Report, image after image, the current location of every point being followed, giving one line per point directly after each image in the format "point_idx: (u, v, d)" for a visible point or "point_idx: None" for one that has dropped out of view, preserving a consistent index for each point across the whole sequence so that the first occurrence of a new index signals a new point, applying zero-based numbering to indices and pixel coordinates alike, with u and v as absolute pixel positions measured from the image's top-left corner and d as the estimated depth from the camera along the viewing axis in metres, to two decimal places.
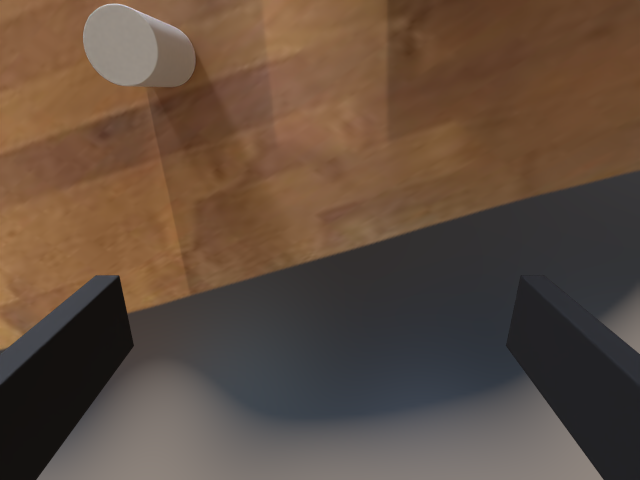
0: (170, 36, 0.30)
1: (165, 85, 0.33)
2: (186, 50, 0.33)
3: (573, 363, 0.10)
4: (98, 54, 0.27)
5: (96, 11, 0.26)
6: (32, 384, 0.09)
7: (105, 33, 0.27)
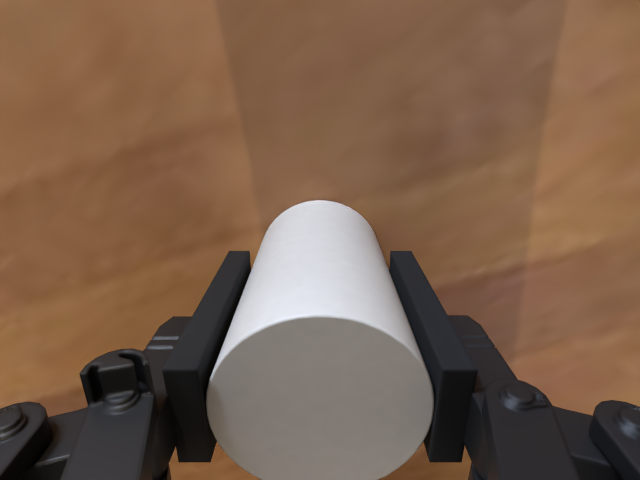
0: (398, 297, 0.12)
1: None
2: None
3: None
4: (248, 431, 0.09)
5: (258, 335, 0.08)
6: (224, 331, 0.11)
7: (279, 386, 0.09)
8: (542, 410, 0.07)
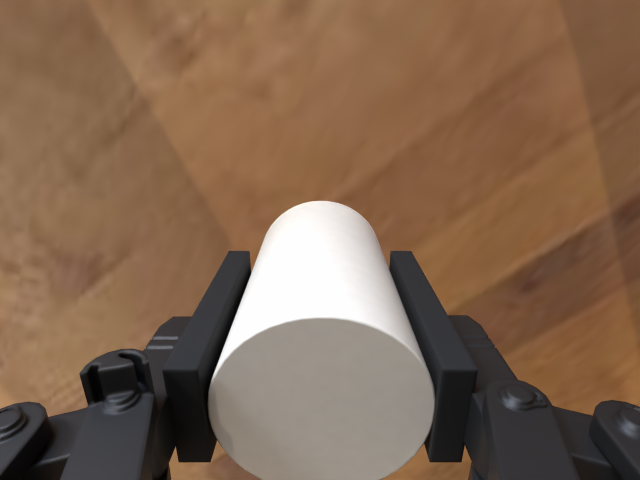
0: (399, 297, 0.12)
1: None
2: None
3: None
4: (250, 432, 0.09)
5: (259, 336, 0.08)
6: (224, 331, 0.11)
7: (280, 386, 0.09)
8: (542, 410, 0.07)
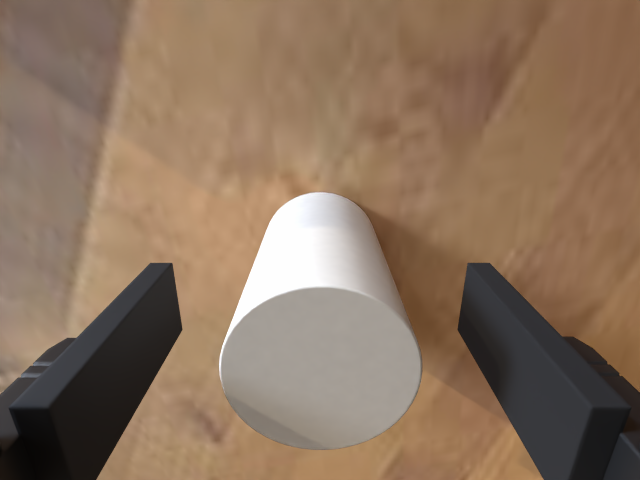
0: (392, 277, 0.13)
1: None
2: None
3: (503, 340, 0.11)
4: (257, 392, 0.10)
5: (266, 304, 0.09)
6: (114, 356, 0.10)
7: (284, 350, 0.10)
8: None
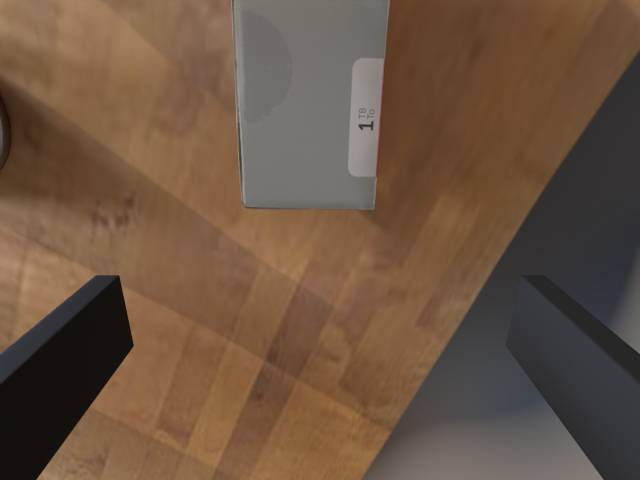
0: None
1: None
2: None
3: (573, 363, 0.10)
4: None
5: None
6: (32, 384, 0.09)
7: None
8: None
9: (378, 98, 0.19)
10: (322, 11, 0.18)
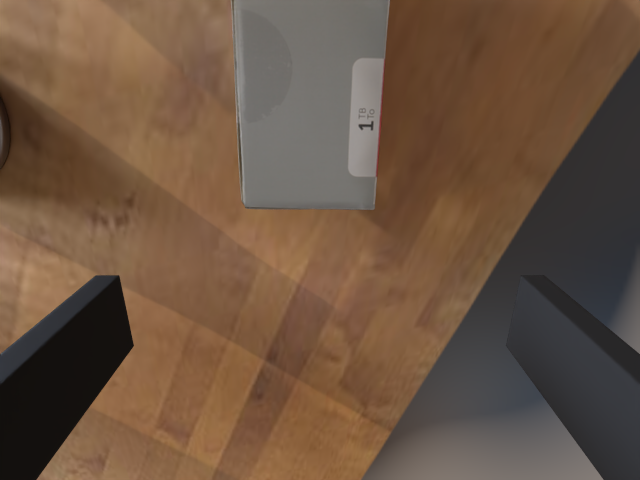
0: None
1: None
2: None
3: (573, 363, 0.10)
4: None
5: None
6: (32, 384, 0.09)
7: None
8: None
9: (378, 98, 0.19)
10: (322, 11, 0.18)
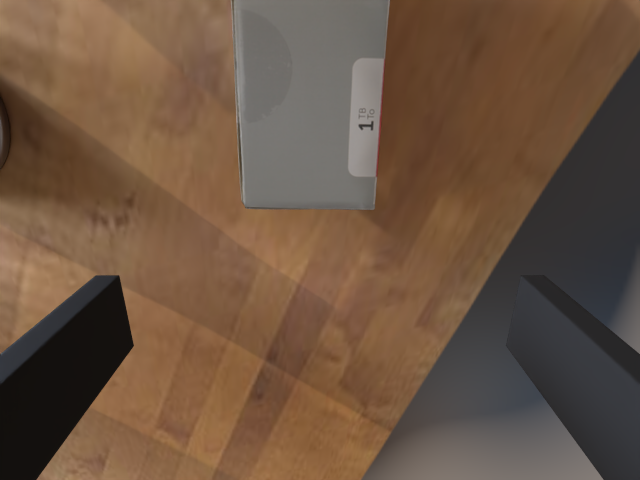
0: None
1: None
2: None
3: (573, 363, 0.10)
4: None
5: None
6: (32, 384, 0.09)
7: None
8: None
9: (378, 98, 0.19)
10: (322, 11, 0.18)
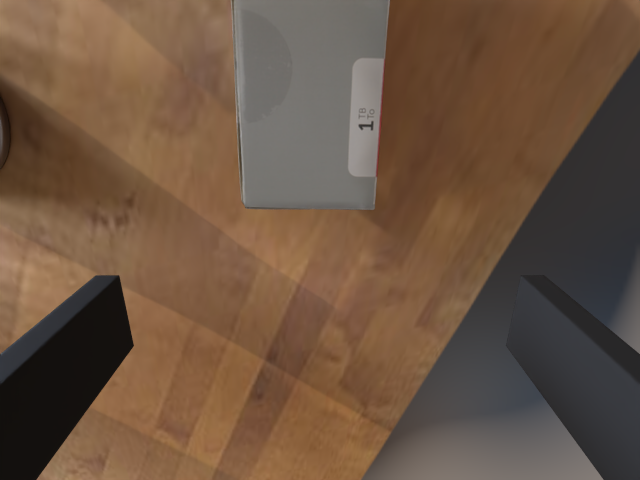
0: None
1: None
2: None
3: (573, 363, 0.10)
4: None
5: None
6: (32, 384, 0.09)
7: None
8: None
9: (378, 98, 0.19)
10: (322, 11, 0.18)
